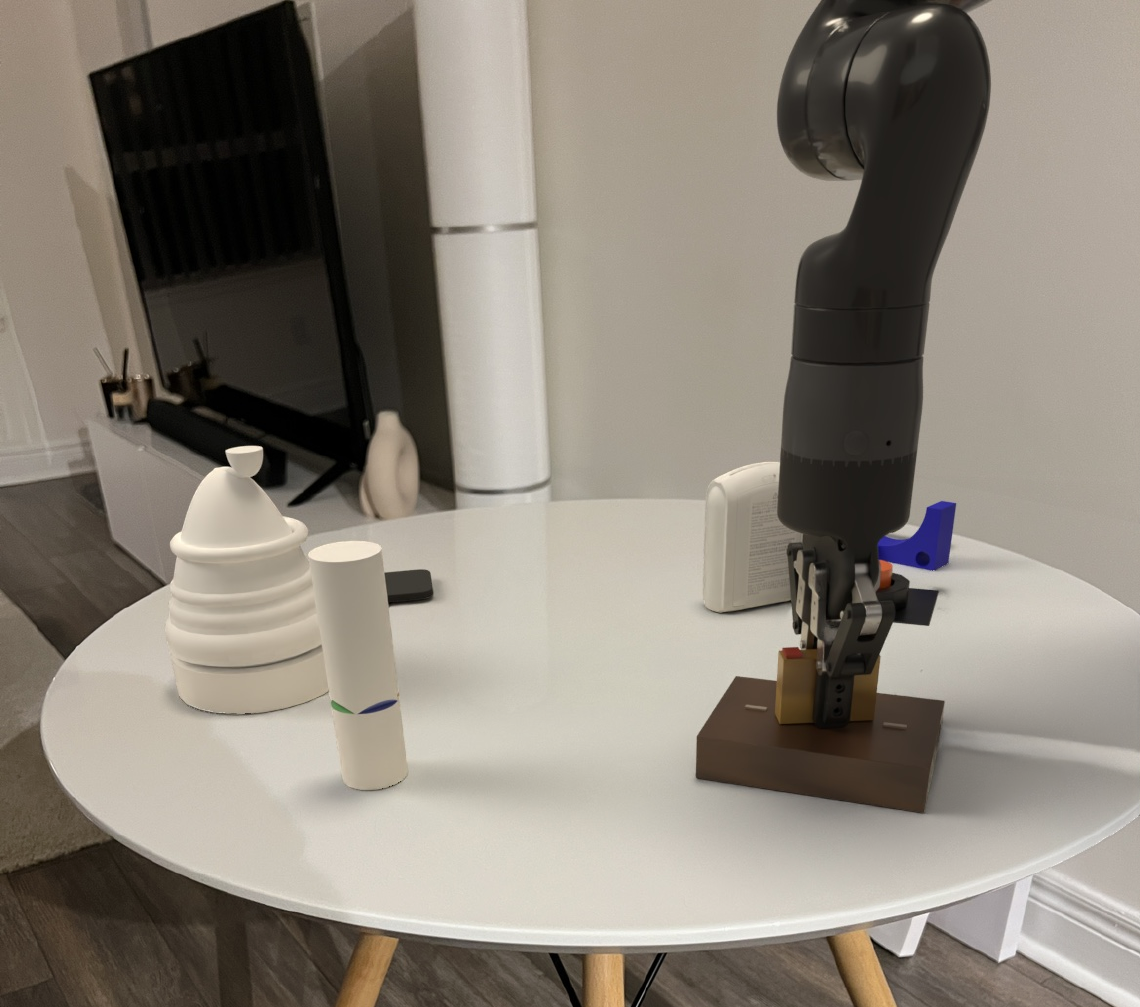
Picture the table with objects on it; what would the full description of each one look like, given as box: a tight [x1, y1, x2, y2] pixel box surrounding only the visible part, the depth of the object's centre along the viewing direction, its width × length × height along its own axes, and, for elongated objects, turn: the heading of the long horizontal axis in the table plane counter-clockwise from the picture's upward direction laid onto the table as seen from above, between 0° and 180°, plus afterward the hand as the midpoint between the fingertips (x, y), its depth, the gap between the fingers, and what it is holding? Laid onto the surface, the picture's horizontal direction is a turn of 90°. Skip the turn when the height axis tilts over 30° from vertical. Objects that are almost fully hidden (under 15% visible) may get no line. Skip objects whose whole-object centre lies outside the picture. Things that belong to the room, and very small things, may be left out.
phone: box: [384, 568, 434, 603], centre depth 103 cm, size 7×1×15 cm
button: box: [879, 560, 894, 588], centre depth 90 cm, size 4×4×2 cm
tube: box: [307, 540, 409, 791], centre depth 67 cm, size 4×4×15 cm
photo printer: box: [702, 461, 803, 613], centre depth 95 cm, size 10×4×12 cm, turn 115°
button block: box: [875, 572, 940, 627], centre depth 91 cm, size 11×9×4 cm
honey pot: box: [164, 445, 329, 715], centre depth 81 cm, size 13×13×18 cm
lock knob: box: [775, 646, 882, 724], centre depth 67 cm, size 6×2×5 cm, turn 91°
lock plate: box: [695, 675, 946, 814], centre depth 69 cm, size 14×10×3 cm
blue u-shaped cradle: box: [877, 500, 957, 572], centre depth 106 cm, size 12×4×6 cm, turn 46°
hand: (824, 716), depth 68 cm, fingers closed on lock knob, 2 cm apart
